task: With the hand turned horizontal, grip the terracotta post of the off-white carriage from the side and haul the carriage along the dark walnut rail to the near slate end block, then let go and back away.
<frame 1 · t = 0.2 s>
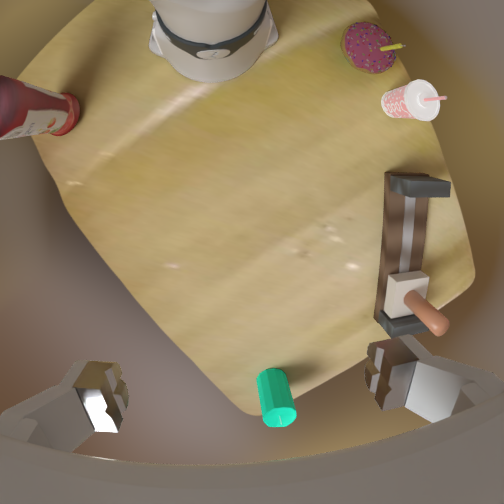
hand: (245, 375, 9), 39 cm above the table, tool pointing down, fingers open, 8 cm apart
candle: (271, 378, 59), on the table
cupcake: (356, 54, 40), on the table
rail: (400, 248, 52), on the table
carriage: (420, 307, 46), point 9 cm above the table, slide at 7.0 cm
beverage cup: (392, 104, 43), on the table
liquor: (65, 114, 39), on the table
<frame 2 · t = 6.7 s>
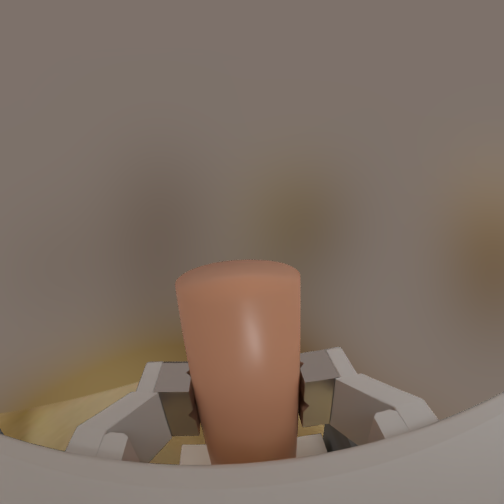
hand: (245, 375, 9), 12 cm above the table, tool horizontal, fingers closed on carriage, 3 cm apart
carriage: (252, 452, 9), point 9 cm above the table, slide at 7.0 cm, touching gripper
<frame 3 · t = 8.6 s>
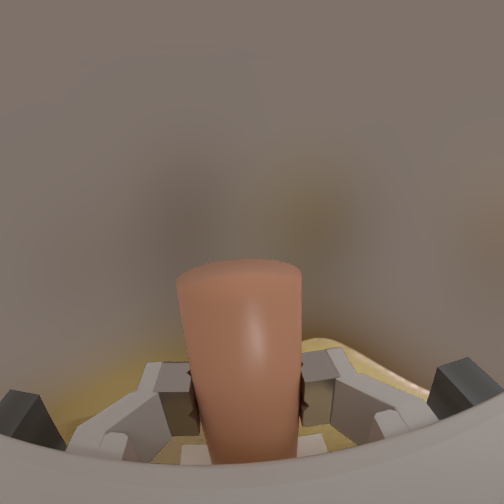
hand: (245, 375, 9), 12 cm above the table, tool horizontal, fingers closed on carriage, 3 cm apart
carriage: (253, 451, 9), point 9 cm above the table, slide at 0.6 cm, touching gripper
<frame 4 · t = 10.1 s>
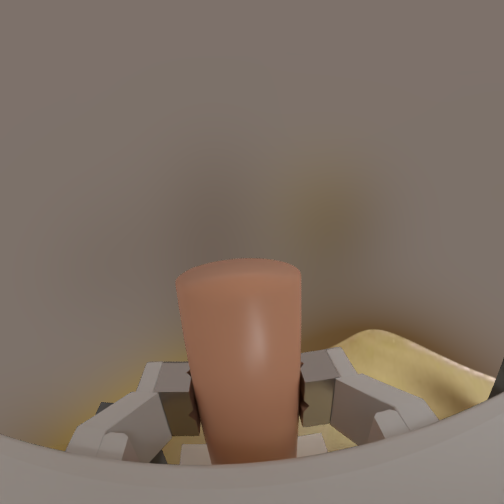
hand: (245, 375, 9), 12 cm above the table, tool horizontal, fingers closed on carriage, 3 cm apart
carriage: (253, 451, 9), point 9 cm above the table, slide at -5.9 cm, touching gripper
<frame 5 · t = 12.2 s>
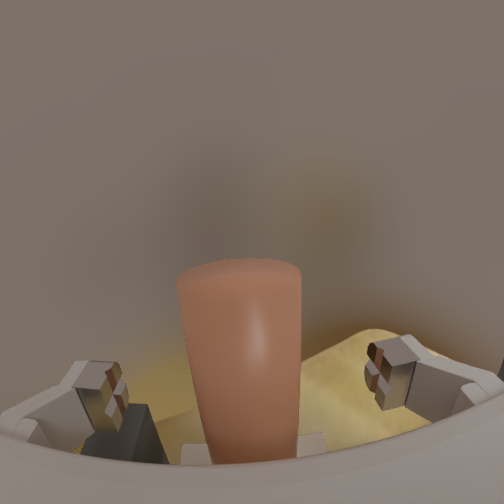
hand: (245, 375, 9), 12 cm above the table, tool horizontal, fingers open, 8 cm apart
carriage: (253, 450, 9), point 9 cm above the table, slide at -6.0 cm
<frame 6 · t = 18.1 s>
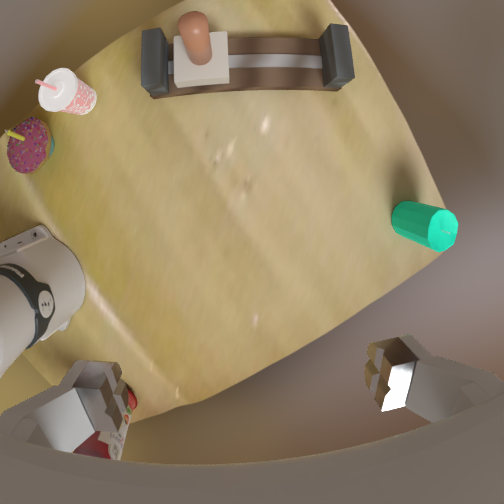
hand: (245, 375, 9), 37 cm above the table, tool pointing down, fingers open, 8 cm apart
candle: (405, 218, 47), on the table
cupcake: (44, 147, 40), on the table
rail: (245, 65, 40), on the table
carriage: (198, 45, 31), point 9 cm above the table, slide at -6.0 cm
beverage cup: (84, 101, 39), on the table
liquor: (122, 393, 52), on the table
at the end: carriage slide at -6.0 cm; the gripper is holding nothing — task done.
